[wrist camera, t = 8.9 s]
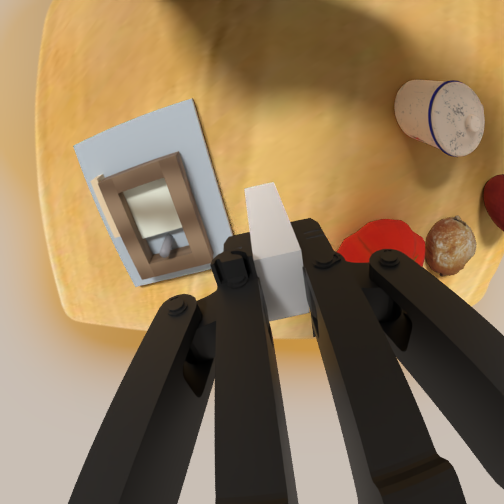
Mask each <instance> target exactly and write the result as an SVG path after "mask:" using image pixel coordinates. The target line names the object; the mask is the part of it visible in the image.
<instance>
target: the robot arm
mask: <svg viewBox="0 0 504 504" xmlns="http://www.w3.org/2000/svg"><path fill="white" fill-rule="evenodd" d="M245 197H246V205H247V213H248V221H249V229H250V232H247V233H243V234H238V235H234V236H229V237H228V238H227V240H226V241H225V243H224V249H223V251H224V252H222V253H220V254H218V255H217V256H216V257H215V258H214V259H213V260H212V261H211V264H210V266H211V269H212V272H213V274H214V277H215V280H216V283H217V290H216V291H215V292H214V293H212V294H211V295H209V296H207V297H205V298H202V299H200V300H198V301H196V299H195V297H193V296H191V295H188V294H181V295H176V296H174V297H172V298H169V299H168V300H167V301H165V302H164V303H163V304H162V306H161V307H160V308H159V310H158V312H157V314H156V316H155V318H154V319H153V321H152V323H151V325H150V327H149V329H148V331H147V333H146V335H145V337H144V338H143V341H142V342H141V344H140V346H139V348H138V350H137V352H136V354H135V356H134V358H133V360H132V362H131V364H130V366H129V368H128V370H127V372H126V374H125V376H124V378H123V380H122V382H121V384H120V386H119V388H118V390H117V392H116V394H115V397H114V398H113V401H112V403H111V405H110V407H109V409H108V411H107V413H106V416H105V418H104V420H103V422H102V424H101V427H100V429H99V431H98V433H97V435H96V437H95V440H94V442H93V445H92V446H91V449H90V451H89V453H88V456H87V458H86V460H85V463H84V465H83V468H82V470H81V472H80V475H79V477H78V480H77V482H76V484H75V487H74V489H73V492H72V495H71V497H70V500H69V502H68V504H177V503H178V499H179V496H180V493H181V490H182V486H183V483H184V480H185V476H186V473H187V469H188V466H189V463H190V459H191V456H192V453H193V449H194V446H195V442H196V439H197V436H198V432H199V429H200V426H201V422H202V419H203V416H204V412H205V409H206V405H207V402H208V399H209V395H210V392H211V389H212V385H213V381H214V379H215V491H216V502H215V503H216V504H298V498H297V491H296V485H295V478H294V471H293V464H292V458H291V451H290V445H289V438H288V432H287V426H286V419H285V413H284V406H283V400H282V393H281V387H280V381H279V374H278V368H277V362H276V355H275V349H274V344H273V337H272V331H271V327H270V323H269V321H273V320H278V319H283V318H287V317H292V316H296V315H301V314H305V313H310V312H311V319H312V328H313V337H315V336H316V338H317V342H318V345H319V349H320V352H321V356H322V359H323V363H324V366H325V370H326V374H327V377H328V381H329V384H330V388H331V392H332V395H333V399H334V403H335V407H336V410H337V414H338V418H339V422H340V426H341V430H342V434H343V437H344V442H345V446H346V450H347V454H348V458H349V462H350V466H351V470H352V475H353V479H354V483H355V487H356V492H357V497H358V504H466V501H465V497H464V495H463V491H462V488H461V485H460V482H459V479H458V476H457V474H456V472H455V470H454V468H453V466H452V465H451V464H450V463H449V461H448V460H446V459H444V458H442V457H440V456H439V455H438V454H437V452H436V450H435V448H434V446H433V443H432V440H431V437H430V435H429V432H428V430H427V427H426V425H425V422H424V420H423V417H422V415H421V412H420V410H419V408H418V406H417V403H416V401H415V398H414V396H413V394H412V391H411V389H410V387H409V385H408V382H407V380H406V378H405V376H404V373H403V371H402V369H401V367H400V365H399V363H398V361H397V358H398V360H399V361H400V362H401V363H402V364H403V366H404V367H405V368H406V369H407V370H408V372H409V373H410V374H411V375H412V376H413V378H414V379H415V380H416V381H417V382H418V384H419V385H420V386H421V387H422V388H423V390H424V391H425V392H426V393H427V394H428V396H429V397H430V398H431V400H432V401H433V402H434V403H435V405H436V406H437V407H438V408H439V410H440V411H441V412H442V413H443V415H444V416H445V417H446V418H447V420H448V421H449V422H450V423H451V425H452V426H453V427H454V428H455V430H456V431H457V432H458V433H459V435H460V436H461V438H462V439H463V440H464V441H465V443H466V444H467V445H468V447H469V448H470V449H471V451H472V452H473V453H474V455H475V456H476V457H477V458H478V460H479V461H480V463H481V464H482V465H483V467H484V468H485V469H486V471H487V472H488V473H489V474H490V476H491V477H492V478H493V479H494V480H495V482H496V483H497V484H498V485H500V486H501V487H502V488H503V489H504V336H503V335H502V334H501V333H500V332H499V331H498V330H497V329H496V328H495V327H494V326H493V325H491V324H490V323H489V322H488V321H487V320H486V319H485V318H484V317H482V316H481V315H480V314H479V313H478V312H477V311H476V310H474V309H473V308H472V307H471V306H470V305H469V304H467V303H466V302H465V301H464V300H463V299H462V298H460V297H459V296H458V295H457V294H456V293H454V292H453V291H452V290H451V289H449V288H448V287H447V286H446V285H444V284H443V283H442V282H441V281H439V280H438V279H437V278H436V277H434V276H433V275H432V274H431V273H429V272H428V271H427V270H425V269H424V268H423V267H422V266H420V265H419V264H418V263H416V262H415V261H414V260H412V259H411V258H410V257H408V256H407V255H406V254H404V253H403V252H401V251H399V250H395V249H381V250H378V251H376V252H374V253H373V254H372V255H371V256H370V258H369V262H365V263H355V262H348V261H346V260H345V258H344V257H343V256H342V255H341V254H340V253H337V252H335V251H334V250H333V248H332V247H331V245H330V243H329V241H328V239H327V238H326V236H325V235H324V232H323V231H322V229H321V227H320V225H319V224H318V222H316V221H315V220H313V219H311V218H308V219H303V220H298V221H294V222H290V221H289V218H288V216H287V213H286V211H285V208H284V206H283V204H282V201H281V199H280V196H279V194H278V191H277V189H276V187H275V184H274V182H272V183H267V184H263V185H258V186H253V187H249V188H245ZM309 308H310V312H309ZM396 357H397V358H396Z"/></svg>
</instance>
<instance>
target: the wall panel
mask: <svg viewBox="0 0 504 504" xmlns="http://www.w3.org/2000/svg"><path fill="white" fill-rule="evenodd" d="M73 147H74V150H75V152H76V155H77V158H78V161H79V163H80V166H81V169H82V171H83V174H84V177H85V179H86V182H87V184H88V187H89V189H90V192H91V194H92V196H93V199H94V201H95V204H96V206H97V208H98V211H99V213H100V215H101V217H102V220H103V222H104V224H105V226H106V228H107V231H108V233H109V235H110V237H111V239H112V241H113V243H114V245H115V248H116V250H117V252H118V254H119V256H120V258H121V260H122V262H123V264H124V266H125V268H126V270H127V272H128V273H129V275H130V277H131V279H132V281H133V283H134V285H135V287H137V286H141V285H146V284H150V283H154V282H158V281H163V280H167V279H171V278H175V277H180V276H184V275H188V274H192V273H197V272H201V271H205V270H209V269H211V266H210V264H211V263H209V264H205V265H201V266H197V267H193V268H189V269H185V270H181V271H177V272H173V273H169V274H165V275H161V276H156V277H152V278H148V279H144V280H142V279H141V277H140V275H139V273H138V271H137V269H136V267H135V265H134V263H133V261H132V259H131V257H130V255H129V253H128V251H127V249H126V247H125V245H124V243H123V240H122V238H121V236H120V234H119V232H118V230H117V228H116V225H115V223H114V221H113V219H112V216H111V214H110V212H109V209H108V207H107V205H106V202H105V200H104V198H103V195H102V193H101V190H100V188H99V186H98V183H99V182H100V181H102V180H103V179H104V178H106V177H108V176H111V175H113V174H116V173H118V172H121V171H123V170H126V169H129V168H131V167H134V166H137V165H139V164H142V163H145V162H148V161H151V160H153V159H156V158H159V157H162V156H165V155H168V154H171V153H174V152H177V151H179V153H180V156H181V159H182V162H183V165H184V168H185V171H186V174H187V177H188V180H189V183H190V186H191V189H192V192H193V195H194V198H195V201H196V204H197V207H198V210H199V213H200V216H201V219H202V221H203V224H204V227H205V230H206V233H207V236H208V239H209V241H210V244H211V247H212V250H213V252H214V254H213V259H214V258H215V257H216V256H217V255H218V254H220V253H222V252H224V251H223V249H224V243H225V241H226V240H227V238H228V237H229V236H233V233H232V229H231V226H230V223H229V219H228V216H227V213H226V209H225V206H224V203H223V199H222V196H221V193H220V189H219V186H218V183H217V179H216V176H215V173H214V169H213V166H212V162H211V159H210V156H209V152H208V149H207V145H206V142H205V139H204V135H203V132H202V128H201V125H200V121H199V118H198V114H197V111H196V107H195V104H194V101H193V99H189V100H186V101H183V102H179V103H176V104H173V105H170V106H167V107H164V108H162V109H159V110H156V111H153V112H150V113H148V114H145V115H142V116H140V117H137V118H135V119H132V120H130V121H127V122H125V123H122V124H120V125H117V126H115V127H113V128H110V129H108V130H106V131H104V132H101V133H99V134H97V135H95V136H93V137H90V138H88V139H86V140H84V141H82V142H80V143H78V144H76V145H74V146H73ZM146 240H147V243H148V245H149V247H150V249H151V251H152V254H153V255H154V254H157V253H159V254H160V256H161V257H163V258H166V257H168V256H169V253H170V250H172V249H176V248H180V247H184V246H187V245H189V243H188V241H187V238H186V235H185V233H184V230H183V228H179V229H175V230H172V231H168V232H164V233H161V234H158V235H154V236H151V237H147V238H146Z"/></svg>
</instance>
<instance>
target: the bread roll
mask: <svg viewBox="0 0 504 504" xmlns="http://www.w3.org/2000/svg"><path fill="white" fill-rule="evenodd" d="M425 245H426V246H425V257H426V261H427V263H428V264H429V266H430V268H431V269H432V270H434V271H435V272H437V273H440V276H447V275H449V276H450V275H455V274H456V273H458V272H459V271H460V270H461V269H463V268H464V266H465V264H466V263H467V262H468V261H469V260H470V258H471V257H472V256H473V255H474V254H475V250H476V240H475V236H474V233H473V232H472V230H471V228H470V227H469V226H468V225H467V224H466V223H465V222H464V221H462V220H461V218H460V217H459V216H455V217H449V218H446V219H441V220H440V221H438V222H437V223H436V224H435V225H434V226H433V227H432V228H431V230H430V232H429V233H428V235H427V238H426V243H425Z"/></svg>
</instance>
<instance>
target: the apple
mask: <svg viewBox="0 0 504 504" xmlns="http://www.w3.org/2000/svg"><path fill="white" fill-rule="evenodd" d="M484 203H485V207H486V209H487V212H488V214H489V216H490V217H491V219H492V220H493V222H494V223H495V224H496V225H497V226H498V227H499V228H500V229H501V230H503V231H504V174H502V175H497V176H495V177H492V178H491V179H490V180H489V181H488V182H487V183H486V185H485V188H484Z"/></svg>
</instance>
